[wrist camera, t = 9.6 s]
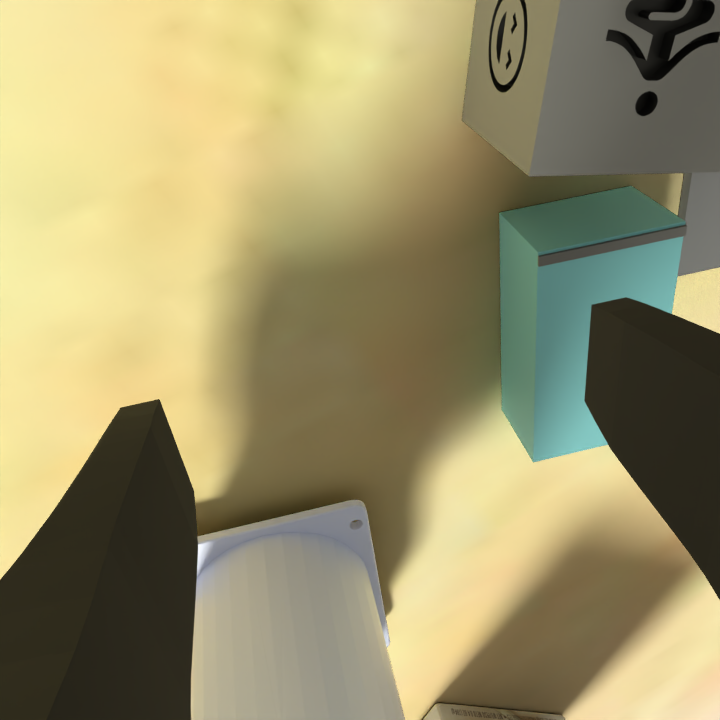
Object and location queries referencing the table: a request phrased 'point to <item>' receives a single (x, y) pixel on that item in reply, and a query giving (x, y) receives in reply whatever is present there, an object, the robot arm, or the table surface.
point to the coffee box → (483, 713)
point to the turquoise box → (573, 302)
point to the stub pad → (700, 222)
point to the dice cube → (597, 85)
